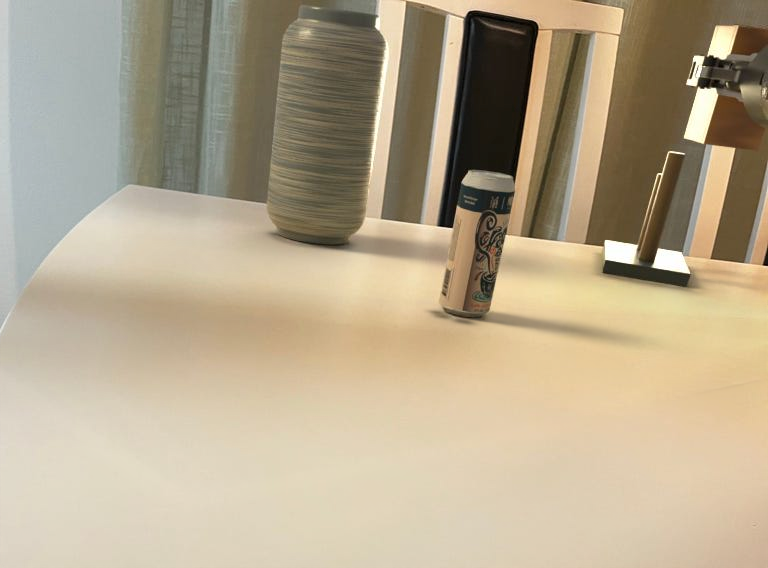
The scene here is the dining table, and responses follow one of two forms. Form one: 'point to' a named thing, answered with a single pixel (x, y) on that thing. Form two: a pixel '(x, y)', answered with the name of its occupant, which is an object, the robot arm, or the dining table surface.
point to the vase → (326, 124)
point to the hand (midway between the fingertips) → (730, 75)
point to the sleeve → (722, 113)
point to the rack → (651, 237)
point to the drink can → (477, 242)
